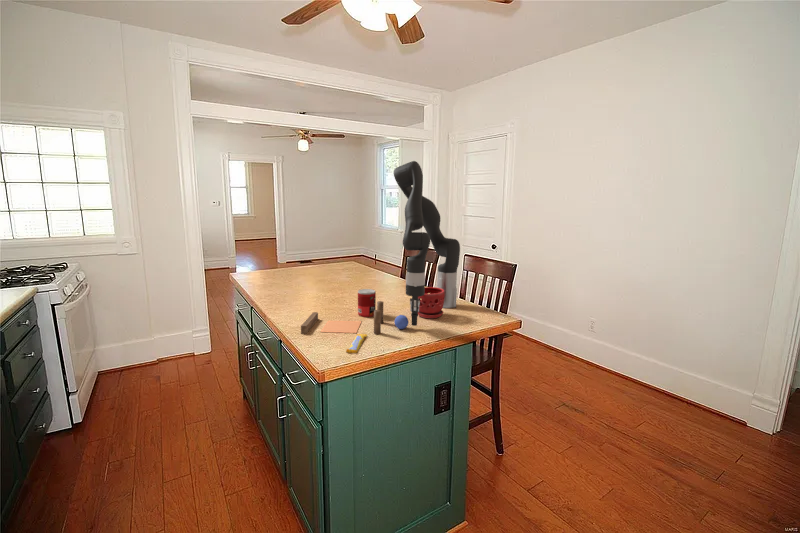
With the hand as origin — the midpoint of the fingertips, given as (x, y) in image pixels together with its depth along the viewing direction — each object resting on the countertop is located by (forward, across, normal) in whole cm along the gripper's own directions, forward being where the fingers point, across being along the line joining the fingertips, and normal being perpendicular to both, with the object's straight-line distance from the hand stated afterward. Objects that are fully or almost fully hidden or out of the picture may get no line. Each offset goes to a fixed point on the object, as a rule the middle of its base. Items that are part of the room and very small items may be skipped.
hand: (414, 325), depth 151 cm
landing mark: (+2, 0, -29) cm, 29 cm away
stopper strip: (+2, -1, -42) cm, 42 cm away
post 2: (+2, +6, -14) cm, 16 cm away
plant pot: (+2, -18, +7) cm, 19 cm away
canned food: (+2, -17, -21) cm, 27 cm away
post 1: (+2, -7, -14) cm, 16 cm away
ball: (-1, 0, -5) cm, 5 cm away
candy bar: (+2, +18, -21) cm, 27 cm away
